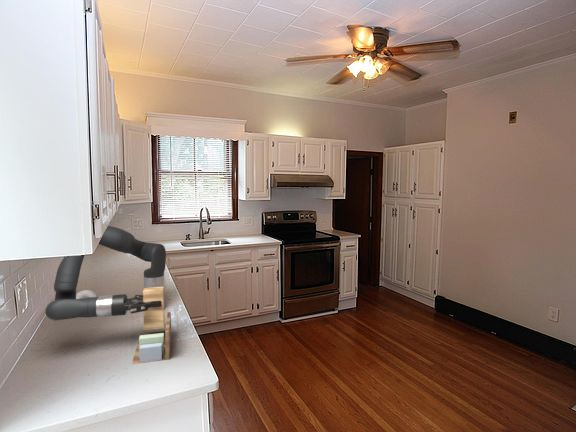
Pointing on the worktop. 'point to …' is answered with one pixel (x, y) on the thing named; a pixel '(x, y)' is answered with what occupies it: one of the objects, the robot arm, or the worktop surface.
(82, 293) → the donut
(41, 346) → the worktop surface
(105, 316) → the robot arm
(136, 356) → the rack
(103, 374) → the worktop surface
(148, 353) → the offcut
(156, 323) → the light brown wooden block
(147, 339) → the offcut
